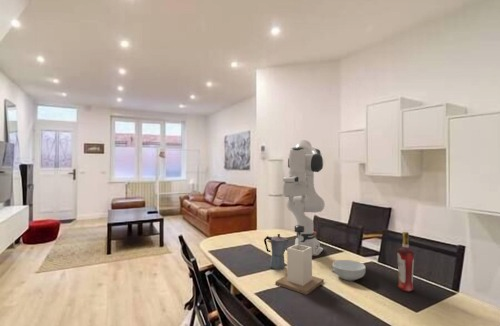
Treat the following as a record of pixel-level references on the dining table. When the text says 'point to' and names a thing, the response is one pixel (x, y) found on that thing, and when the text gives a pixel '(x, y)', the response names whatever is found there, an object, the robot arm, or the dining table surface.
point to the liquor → (405, 265)
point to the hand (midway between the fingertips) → (297, 204)
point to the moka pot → (277, 251)
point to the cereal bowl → (349, 269)
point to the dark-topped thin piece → (299, 234)
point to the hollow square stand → (299, 271)
